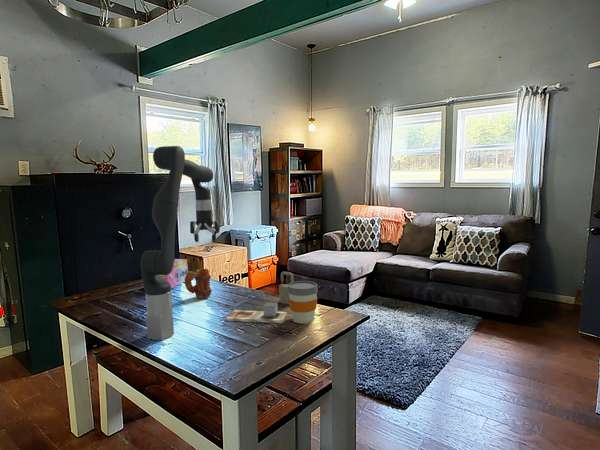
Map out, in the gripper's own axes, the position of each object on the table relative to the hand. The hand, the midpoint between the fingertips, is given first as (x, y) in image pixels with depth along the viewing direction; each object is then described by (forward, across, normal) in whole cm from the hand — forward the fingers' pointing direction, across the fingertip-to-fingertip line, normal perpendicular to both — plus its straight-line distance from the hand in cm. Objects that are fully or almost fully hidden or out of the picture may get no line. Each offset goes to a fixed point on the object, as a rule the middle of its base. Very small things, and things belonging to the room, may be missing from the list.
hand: (205, 242), depth 187 cm
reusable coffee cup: (+29, +51, -24) cm, 64 cm away
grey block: (+29, +37, -23) cm, 53 cm away
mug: (+29, -5, 0) cm, 30 cm away
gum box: (+29, -31, +23) cm, 48 cm away
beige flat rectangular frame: (+29, +31, -23) cm, 49 cm away
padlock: (+29, +41, -2) cm, 50 cm away
